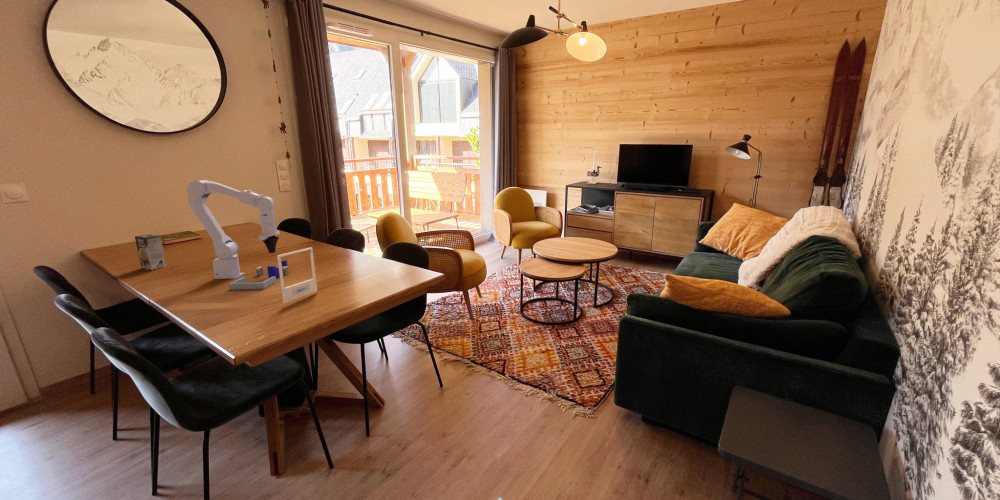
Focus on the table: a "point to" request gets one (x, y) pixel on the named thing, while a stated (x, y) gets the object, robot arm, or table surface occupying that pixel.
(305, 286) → the photo frame
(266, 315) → the table surface
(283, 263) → the blue stepped bar
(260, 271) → the posts
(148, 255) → the coffee box
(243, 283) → the grey bent bracket
